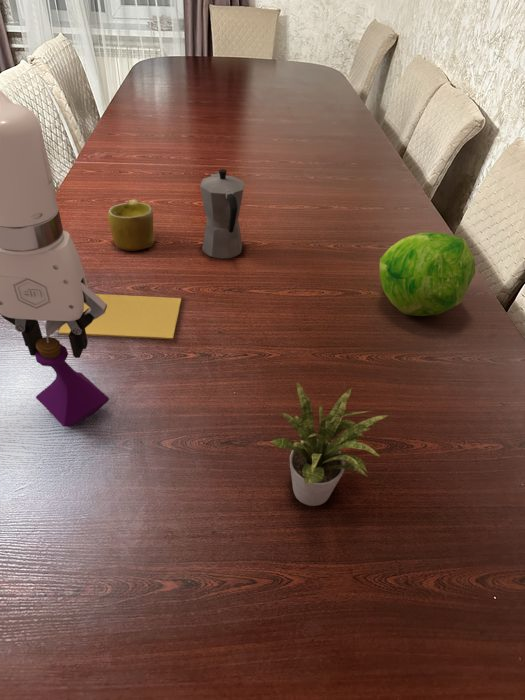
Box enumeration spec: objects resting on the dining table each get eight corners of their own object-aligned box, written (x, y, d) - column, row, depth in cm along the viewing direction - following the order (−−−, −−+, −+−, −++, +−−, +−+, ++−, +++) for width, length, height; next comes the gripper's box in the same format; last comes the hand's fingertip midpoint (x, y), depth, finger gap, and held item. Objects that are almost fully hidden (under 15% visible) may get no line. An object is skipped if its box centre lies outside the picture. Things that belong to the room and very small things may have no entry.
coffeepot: (194, 236, 120) (192, 158, 108) (234, 232, 122) (235, 155, 110) (211, 272, 109) (211, 190, 97) (254, 266, 111) (259, 186, 100)
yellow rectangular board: (58, 334, 91) (58, 332, 91) (77, 294, 100) (76, 292, 100) (173, 339, 92) (172, 337, 92) (181, 299, 101) (181, 298, 101)
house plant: (365, 558, 63) (395, 479, 53) (253, 536, 65) (261, 455, 54) (368, 463, 74) (393, 382, 63) (272, 446, 75) (281, 364, 65)
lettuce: (447, 289, 112) (423, 220, 108) (506, 296, 92) (479, 212, 88) (377, 324, 110) (349, 255, 107) (422, 338, 91) (390, 255, 87)
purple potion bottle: (67, 441, 74) (43, 347, 62) (39, 411, 77) (11, 317, 65) (112, 413, 78) (97, 320, 66) (83, 387, 82) (65, 294, 70)
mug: (156, 251, 110) (139, 204, 106) (112, 260, 112) (94, 215, 108) (171, 233, 121) (157, 191, 116) (131, 242, 123) (115, 200, 118)
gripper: (-69, 239, 55) (-18, 366, 67) (94, 248, 55) (116, 372, 67) (-38, 207, 60) (4, 329, 72) (111, 215, 61) (128, 335, 73)
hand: (58, 348), depth 70 cm, fingers closed on purple potion bottle, 4 cm apart
